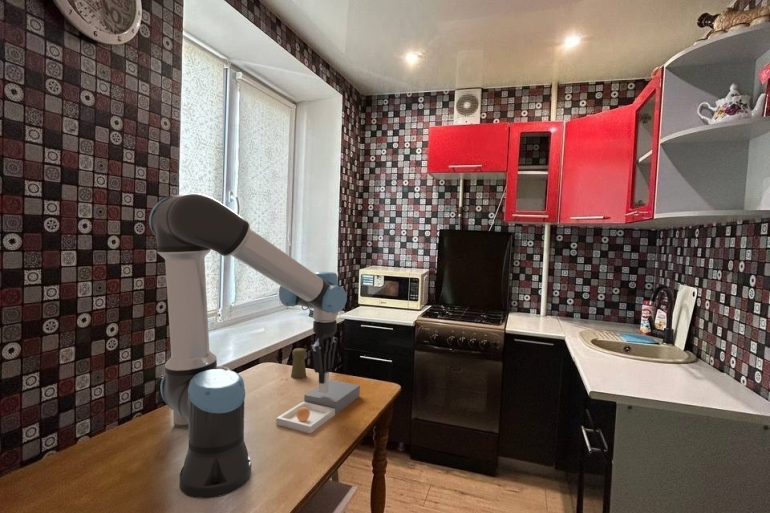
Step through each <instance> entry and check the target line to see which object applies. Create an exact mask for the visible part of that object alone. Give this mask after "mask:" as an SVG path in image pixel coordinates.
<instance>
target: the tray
mask: <svg viewBox="0 0 770 513" xmlns="http://www.w3.org/2000/svg"><path fill="white" fill-rule="evenodd" d="M301 407H306V408H308V409H309V411H310V416H309V418H308V419H307V420H306V421H300V420H298V418H297V416H296V413H297V410H298V409H299V408H301ZM335 415H336V414H335V409H334V408H330V407H325V406H321V405H317V404H312V403H308V402H304V400H303V401H302V402H300V403H298V404H297V405H295V406H293V407H292V408H290V409H288V410H287V411H285V412H283V413H282V414H280V415H278V416H277V417H276V418H275V419H276V420H275V421H276V422H275V425H277V426H280V427H284V428H288V429H291V430H295V431H300V432H302V433H307V434H312V433H313V432H315V431H316V430H317V429H318V428H320V427H321V426H322V425H323V424H325V423H326V422H328V421H329V420H330V419H331V418H333V417H334V416H335Z"/></svg>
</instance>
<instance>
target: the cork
mask: <svg viewBox="0 0 770 513" xmlns="http://www.w3.org/2000/svg"><path fill="white" fill-rule="evenodd" d="M306 351H307V350H306V349H305V348H301V347H297V348H294V349H293V350H292V357H293V358H292V359H293V360H292V367H291V373H290V378H292V379H297V380H299V379H300V380H301V379H305V378H307V371H306V370H307V369H306V362H305V357H306V354H307V352H306Z"/></svg>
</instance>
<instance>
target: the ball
mask: <svg viewBox="0 0 770 513" xmlns="http://www.w3.org/2000/svg"><path fill="white" fill-rule="evenodd" d="M296 416H297V418H298V420H300V421H306V420H307V419H308V418H309V416H310V411H309V409H308V408H306V407H301V408H299V409H298V410H297V413H296Z"/></svg>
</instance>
